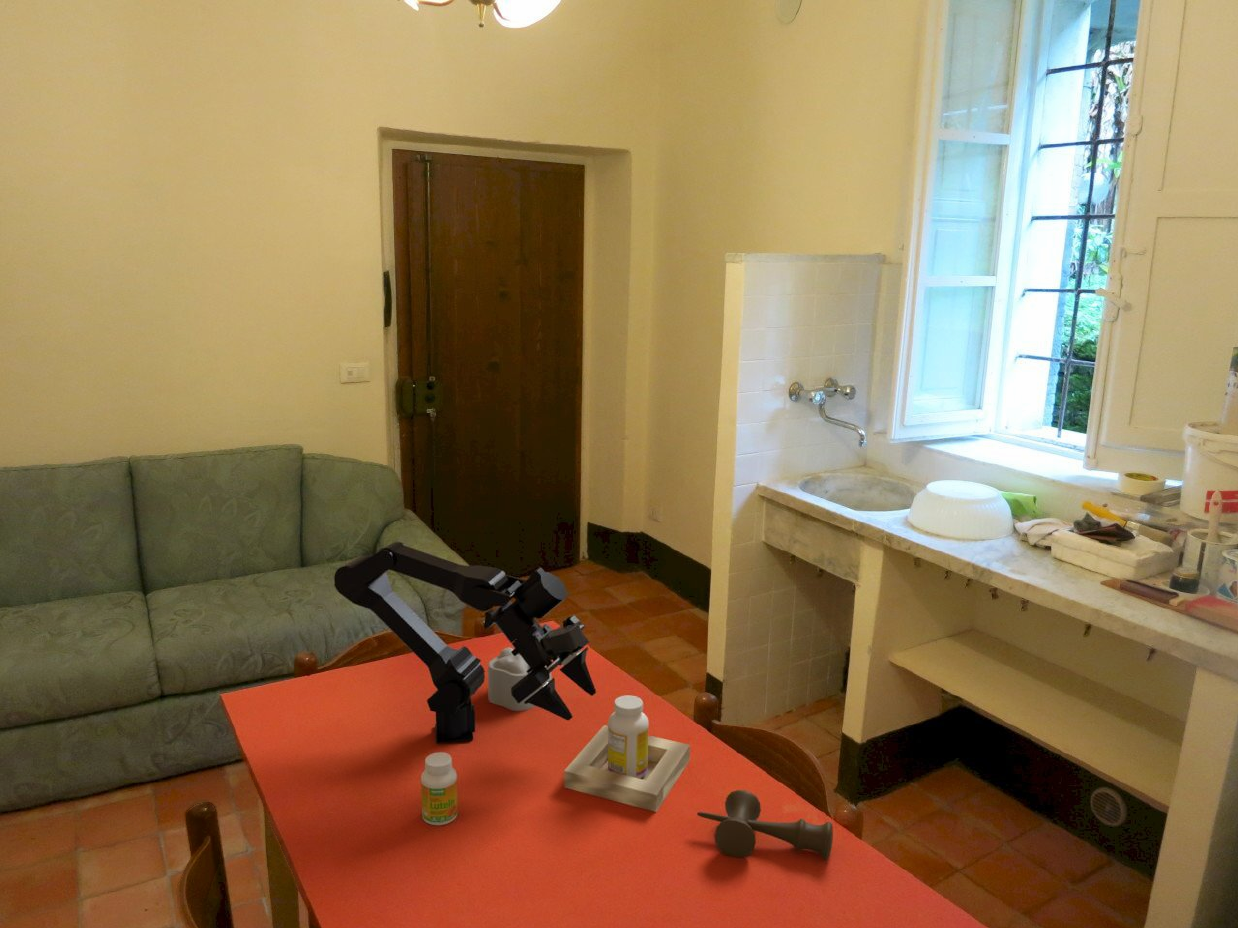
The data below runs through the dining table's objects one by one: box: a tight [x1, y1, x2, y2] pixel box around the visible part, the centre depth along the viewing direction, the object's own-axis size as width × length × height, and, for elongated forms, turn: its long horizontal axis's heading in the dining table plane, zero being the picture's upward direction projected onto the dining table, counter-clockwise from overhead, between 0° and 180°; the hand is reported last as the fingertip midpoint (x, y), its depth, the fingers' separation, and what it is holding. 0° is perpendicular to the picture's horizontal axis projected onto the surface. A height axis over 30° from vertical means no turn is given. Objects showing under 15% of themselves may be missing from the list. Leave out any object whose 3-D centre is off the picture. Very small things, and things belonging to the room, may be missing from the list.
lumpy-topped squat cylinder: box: [487, 647, 552, 712], centre depth 180 cm, size 10×13×9 cm
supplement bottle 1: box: [420, 752, 459, 826], centre depth 142 cm, size 5×5×10 cm
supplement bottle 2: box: [607, 694, 650, 779], centre depth 153 cm, size 7×7×13 cm
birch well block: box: [563, 724, 691, 813], centre depth 154 cm, size 16×16×3 cm
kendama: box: [697, 789, 834, 860], centre depth 137 cm, size 6×10×20 cm
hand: (582, 706), depth 155 cm, fingers open, 9 cm apart
